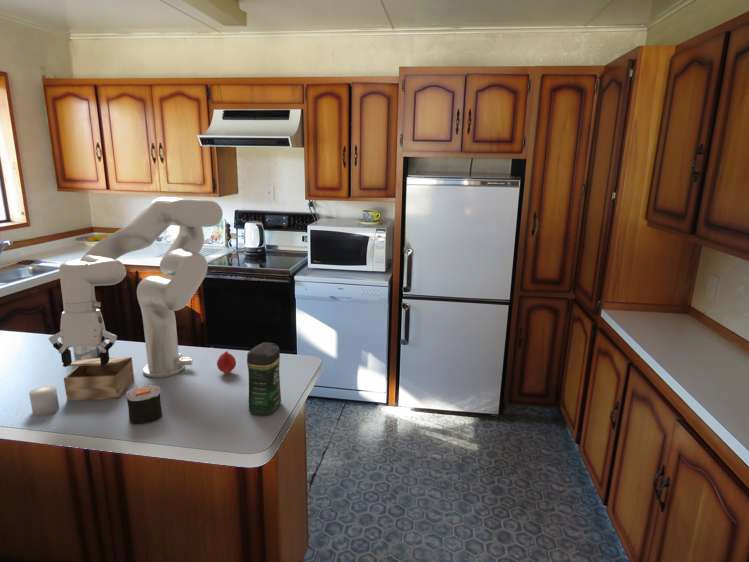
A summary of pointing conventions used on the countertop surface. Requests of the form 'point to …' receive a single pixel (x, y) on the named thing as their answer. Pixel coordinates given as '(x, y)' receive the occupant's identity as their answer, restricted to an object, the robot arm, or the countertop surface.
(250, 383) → the coffee jar
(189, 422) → the countertop surface
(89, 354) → the label tape box
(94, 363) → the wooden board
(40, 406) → the cream-capped white cylinder
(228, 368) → the onion
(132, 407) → the sushi
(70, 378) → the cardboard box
